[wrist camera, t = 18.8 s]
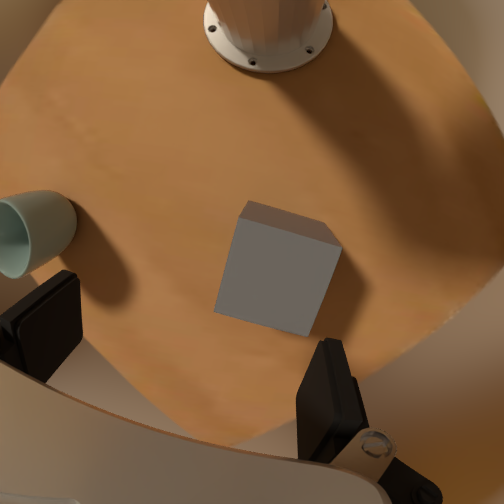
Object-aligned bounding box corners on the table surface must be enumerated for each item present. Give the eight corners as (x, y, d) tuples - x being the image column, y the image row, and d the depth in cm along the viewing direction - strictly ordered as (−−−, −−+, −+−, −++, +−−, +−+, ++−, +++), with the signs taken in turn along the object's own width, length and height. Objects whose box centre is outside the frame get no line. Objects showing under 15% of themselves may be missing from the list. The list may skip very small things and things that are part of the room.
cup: (70, 262, 34) (19, 294, 24) (31, 223, 33) (-23, 245, 23) (97, 212, 32) (41, 234, 22) (54, 172, 31) (-5, 183, 21)
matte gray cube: (248, 200, 30) (238, 217, 22) (324, 222, 31) (342, 247, 22) (228, 272, 33) (213, 311, 24) (300, 292, 33) (307, 336, 24)
